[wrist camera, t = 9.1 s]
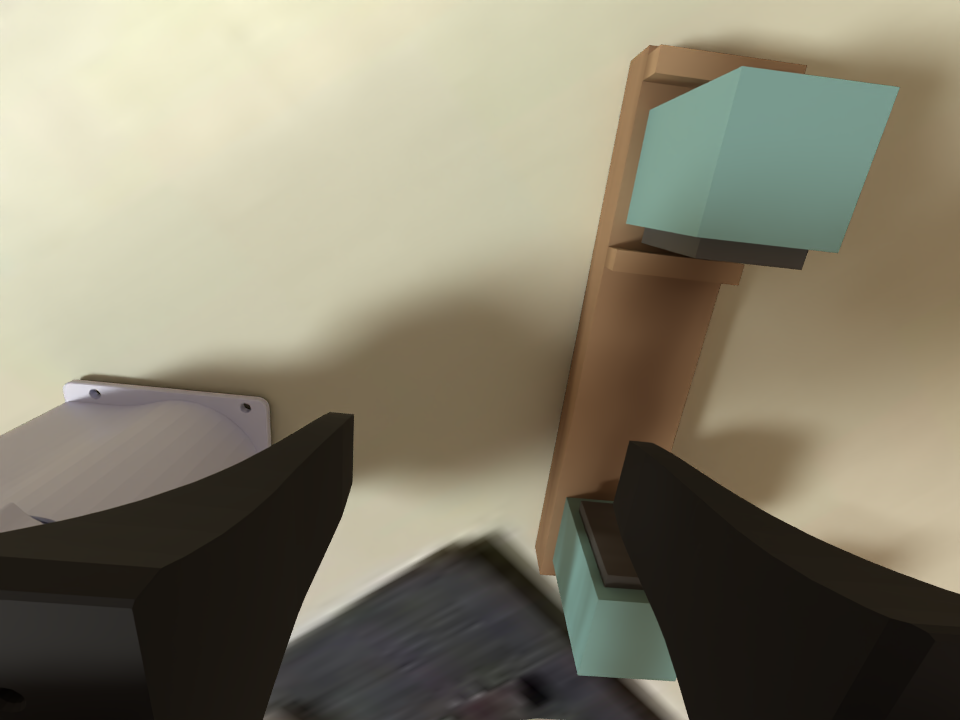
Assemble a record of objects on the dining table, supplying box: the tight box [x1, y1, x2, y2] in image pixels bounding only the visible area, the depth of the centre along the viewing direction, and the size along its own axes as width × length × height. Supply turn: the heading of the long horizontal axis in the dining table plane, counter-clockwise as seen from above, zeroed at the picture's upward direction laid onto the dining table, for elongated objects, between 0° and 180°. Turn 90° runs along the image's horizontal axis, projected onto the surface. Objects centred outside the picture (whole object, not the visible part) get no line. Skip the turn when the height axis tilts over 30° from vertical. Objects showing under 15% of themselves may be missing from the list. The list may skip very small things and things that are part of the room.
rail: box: [535, 45, 807, 681], centre depth 18 cm, size 5×24×8 cm, turn 173°
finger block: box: [626, 66, 900, 270], centre depth 15 cm, size 4×5×6 cm
